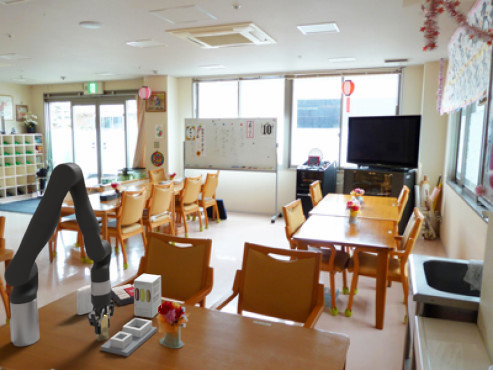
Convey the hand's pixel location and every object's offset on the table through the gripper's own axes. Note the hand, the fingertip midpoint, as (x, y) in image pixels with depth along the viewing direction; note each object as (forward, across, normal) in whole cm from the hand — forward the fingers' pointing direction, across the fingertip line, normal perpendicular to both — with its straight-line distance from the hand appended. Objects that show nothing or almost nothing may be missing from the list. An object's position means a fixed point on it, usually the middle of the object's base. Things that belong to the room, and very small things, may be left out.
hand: (102, 330), depth 155 cm
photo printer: (+4, -17, -22) cm, 28 cm away
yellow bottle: (+3, 0, 0) cm, 3 cm away
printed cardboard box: (+4, -36, -16) cm, 39 cm away
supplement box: (+4, -26, +4) cm, 27 cm away
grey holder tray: (+3, -3, +11) cm, 12 cm away
